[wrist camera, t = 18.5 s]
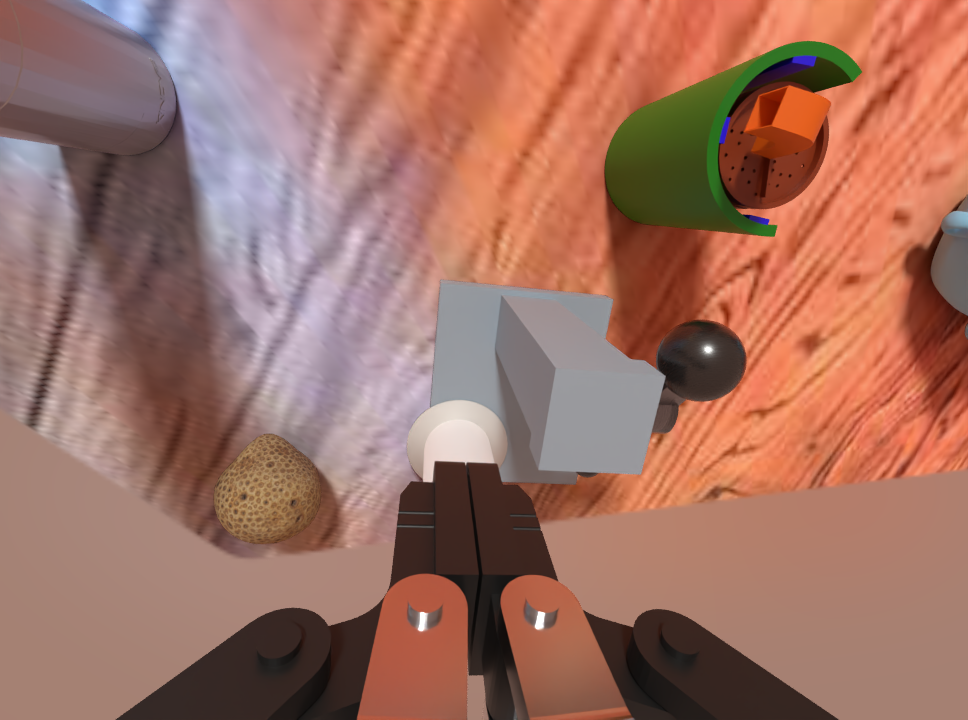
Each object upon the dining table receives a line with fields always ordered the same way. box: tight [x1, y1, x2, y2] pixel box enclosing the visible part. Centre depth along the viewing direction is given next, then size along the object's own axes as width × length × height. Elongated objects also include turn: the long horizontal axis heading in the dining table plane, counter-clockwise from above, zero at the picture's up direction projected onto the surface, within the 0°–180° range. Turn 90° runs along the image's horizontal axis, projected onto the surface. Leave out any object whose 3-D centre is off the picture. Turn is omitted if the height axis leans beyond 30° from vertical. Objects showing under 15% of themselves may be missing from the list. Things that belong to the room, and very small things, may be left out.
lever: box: [576, 320, 747, 477], centre depth 32 cm, size 4×22×4 cm
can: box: [423, 420, 494, 482], centre depth 40 cm, size 6×6×12 cm
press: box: [407, 280, 666, 485], centre depth 36 cm, size 18×21×22 cm
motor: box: [605, 41, 862, 237], centre depth 31 cm, size 10×9×20 cm
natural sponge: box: [214, 434, 321, 544], centre depth 42 cm, size 9×9×10 cm
